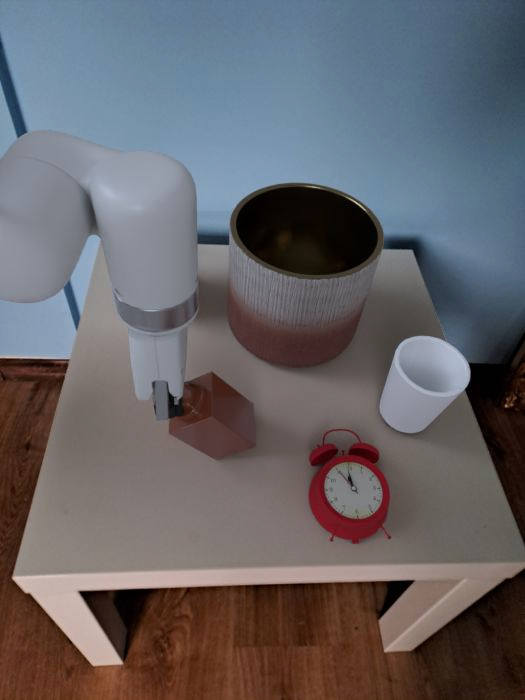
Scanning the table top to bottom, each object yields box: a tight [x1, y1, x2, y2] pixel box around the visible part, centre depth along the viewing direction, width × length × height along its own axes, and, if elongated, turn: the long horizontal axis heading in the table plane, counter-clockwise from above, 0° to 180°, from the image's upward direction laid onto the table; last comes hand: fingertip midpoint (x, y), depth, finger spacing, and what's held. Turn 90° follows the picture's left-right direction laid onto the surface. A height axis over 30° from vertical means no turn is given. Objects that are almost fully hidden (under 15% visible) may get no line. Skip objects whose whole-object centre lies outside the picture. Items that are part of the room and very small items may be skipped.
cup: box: [378, 335, 471, 435], centre depth 64 cm, size 10×10×13 cm
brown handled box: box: [168, 371, 257, 461], centre depth 59 cm, size 7×9×16 cm
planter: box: [227, 182, 385, 369], centre depth 72 cm, size 22×22×20 cm
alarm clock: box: [308, 428, 392, 545], centre depth 60 cm, size 10×6×15 cm
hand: (170, 399), depth 56 cm, fingers closed on brown handled box, 3 cm apart
